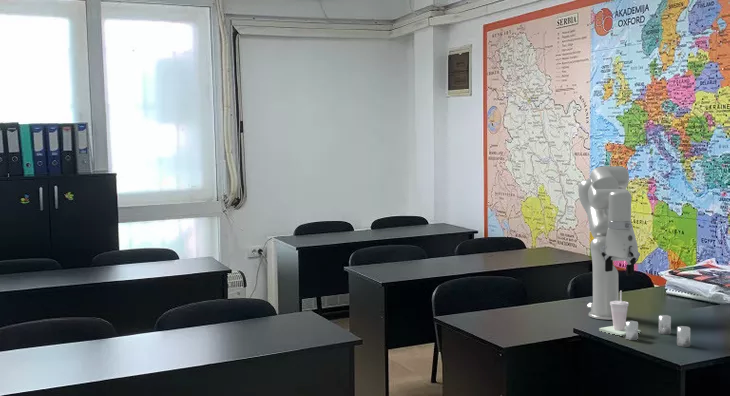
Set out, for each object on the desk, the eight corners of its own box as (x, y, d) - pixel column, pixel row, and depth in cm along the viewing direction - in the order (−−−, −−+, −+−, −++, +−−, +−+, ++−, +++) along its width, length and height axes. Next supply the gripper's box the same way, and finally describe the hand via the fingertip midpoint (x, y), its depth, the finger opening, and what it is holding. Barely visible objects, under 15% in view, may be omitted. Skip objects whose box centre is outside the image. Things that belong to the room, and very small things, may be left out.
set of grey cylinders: (623, 338, 246) (623, 321, 245) (663, 331, 255) (663, 314, 255) (667, 351, 229) (667, 332, 229) (709, 342, 239) (709, 324, 239)
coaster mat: (598, 330, 257) (598, 328, 257) (618, 327, 262) (618, 324, 262) (620, 336, 248) (620, 334, 248) (640, 333, 253) (640, 330, 253)
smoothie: (628, 331, 251) (629, 292, 250) (609, 330, 253) (609, 291, 252) (628, 327, 257) (628, 289, 256) (609, 326, 259) (609, 288, 258)
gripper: (646, 227, 247) (646, 276, 248) (608, 222, 262) (608, 268, 264) (631, 229, 243) (631, 278, 245) (593, 224, 259) (593, 270, 260)
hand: (619, 273), depth 254 cm, fingers open, 9 cm apart
